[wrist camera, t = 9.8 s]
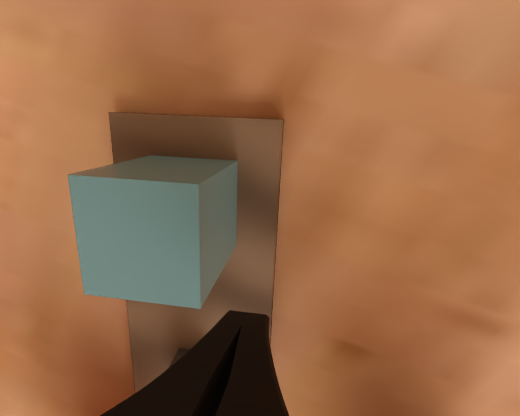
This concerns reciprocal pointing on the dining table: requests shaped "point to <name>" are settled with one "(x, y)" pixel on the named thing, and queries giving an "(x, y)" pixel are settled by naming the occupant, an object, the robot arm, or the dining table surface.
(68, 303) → the dining table surface
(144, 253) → the teal block
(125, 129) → the walnut board
